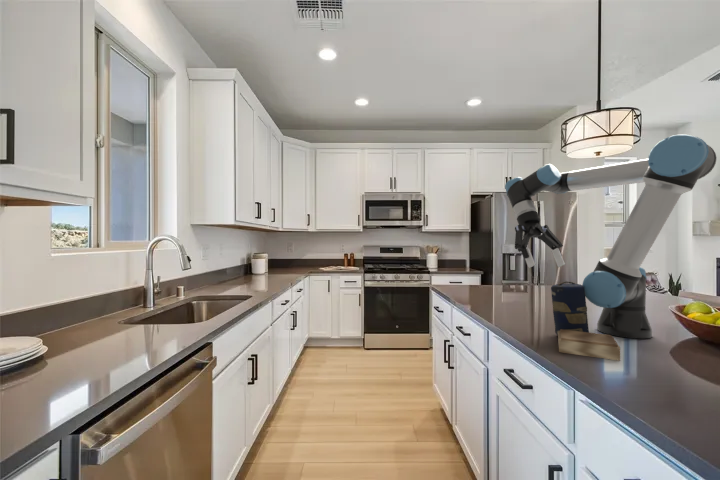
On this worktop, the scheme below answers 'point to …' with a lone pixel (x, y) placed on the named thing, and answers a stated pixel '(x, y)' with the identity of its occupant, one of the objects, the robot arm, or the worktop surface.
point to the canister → (569, 307)
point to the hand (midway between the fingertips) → (547, 266)
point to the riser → (588, 344)
